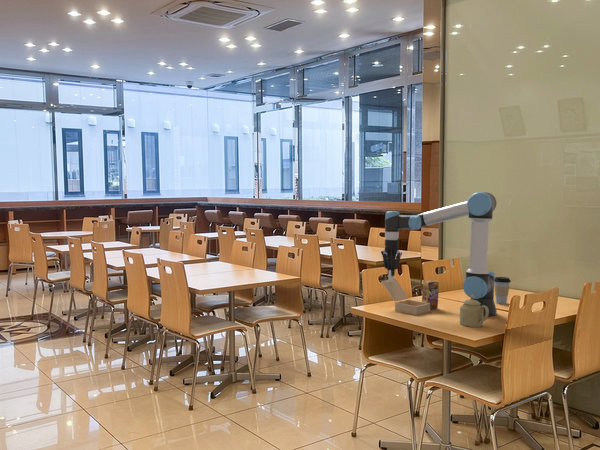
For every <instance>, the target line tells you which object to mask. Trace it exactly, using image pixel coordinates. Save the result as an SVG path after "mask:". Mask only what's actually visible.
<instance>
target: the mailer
mask: <svg viewBox="0 0 600 450" xmlns="http://www.w3.org/2000/svg"><path fill="white" fill-rule="evenodd" d="M398 311H399V312H398ZM394 312H398V313H404V314H409V315H413V314H414V316H418V315H423V314H427V313H431V309H430V303H425V302H422V301H419V300H412V299H404V300H400V301H395V303H394Z"/></svg>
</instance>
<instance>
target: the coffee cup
mask: <svg viewBox="0 0 600 450" xmlns="http://www.w3.org/2000/svg"><path fill="white" fill-rule="evenodd" d="M510 284H511V279H510V277H506V276H495V279H494V296H495V304H498V303H500V304H499V305H506V304H507V301H508V296H509V291H510Z"/></svg>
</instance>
